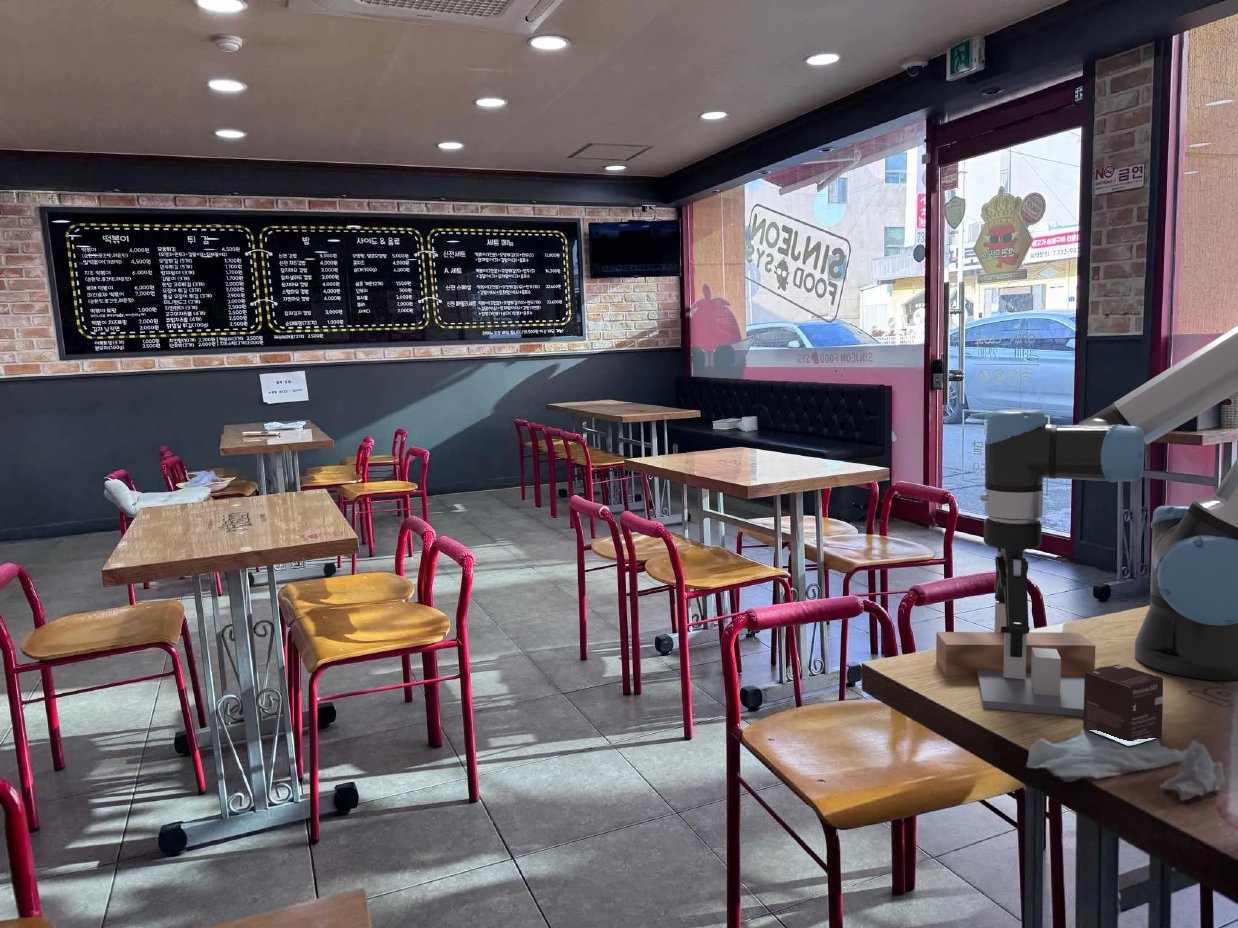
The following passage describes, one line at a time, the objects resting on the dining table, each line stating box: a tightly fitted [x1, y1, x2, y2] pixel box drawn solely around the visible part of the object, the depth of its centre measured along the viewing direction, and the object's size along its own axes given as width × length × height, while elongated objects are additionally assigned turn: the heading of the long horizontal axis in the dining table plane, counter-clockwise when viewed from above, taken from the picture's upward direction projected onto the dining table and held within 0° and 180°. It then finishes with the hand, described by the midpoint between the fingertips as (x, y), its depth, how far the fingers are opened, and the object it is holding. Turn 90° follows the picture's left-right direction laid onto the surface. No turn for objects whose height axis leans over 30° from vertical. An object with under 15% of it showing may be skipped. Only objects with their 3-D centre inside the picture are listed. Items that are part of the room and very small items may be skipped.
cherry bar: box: [935, 631, 1096, 678], centre depth 125 cm, size 20×6×5 cm, turn 83°
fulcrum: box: [977, 648, 1085, 718], centre depth 114 cm, size 16×12×6 cm
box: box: [1082, 664, 1164, 741], centre depth 102 cm, size 6×6×7 cm
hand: (1008, 662), depth 125 cm, fingers open, 13 cm apart
